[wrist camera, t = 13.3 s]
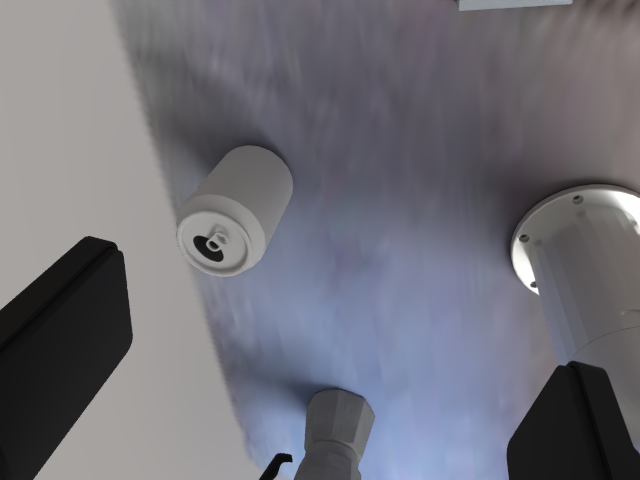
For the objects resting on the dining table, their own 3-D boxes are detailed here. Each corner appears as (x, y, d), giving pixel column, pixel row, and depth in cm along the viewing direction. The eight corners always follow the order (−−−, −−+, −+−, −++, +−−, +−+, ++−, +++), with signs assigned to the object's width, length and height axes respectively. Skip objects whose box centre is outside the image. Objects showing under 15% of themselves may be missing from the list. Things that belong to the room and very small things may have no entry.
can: (207, 172, 48) (149, 239, 38) (254, 125, 44) (203, 186, 34) (261, 223, 50) (220, 298, 40) (311, 182, 46) (278, 255, 37)
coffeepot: (391, 393, 61) (377, 545, 47) (389, 438, 66) (376, 586, 52) (274, 379, 64) (227, 517, 50) (281, 422, 69) (240, 559, 55)
